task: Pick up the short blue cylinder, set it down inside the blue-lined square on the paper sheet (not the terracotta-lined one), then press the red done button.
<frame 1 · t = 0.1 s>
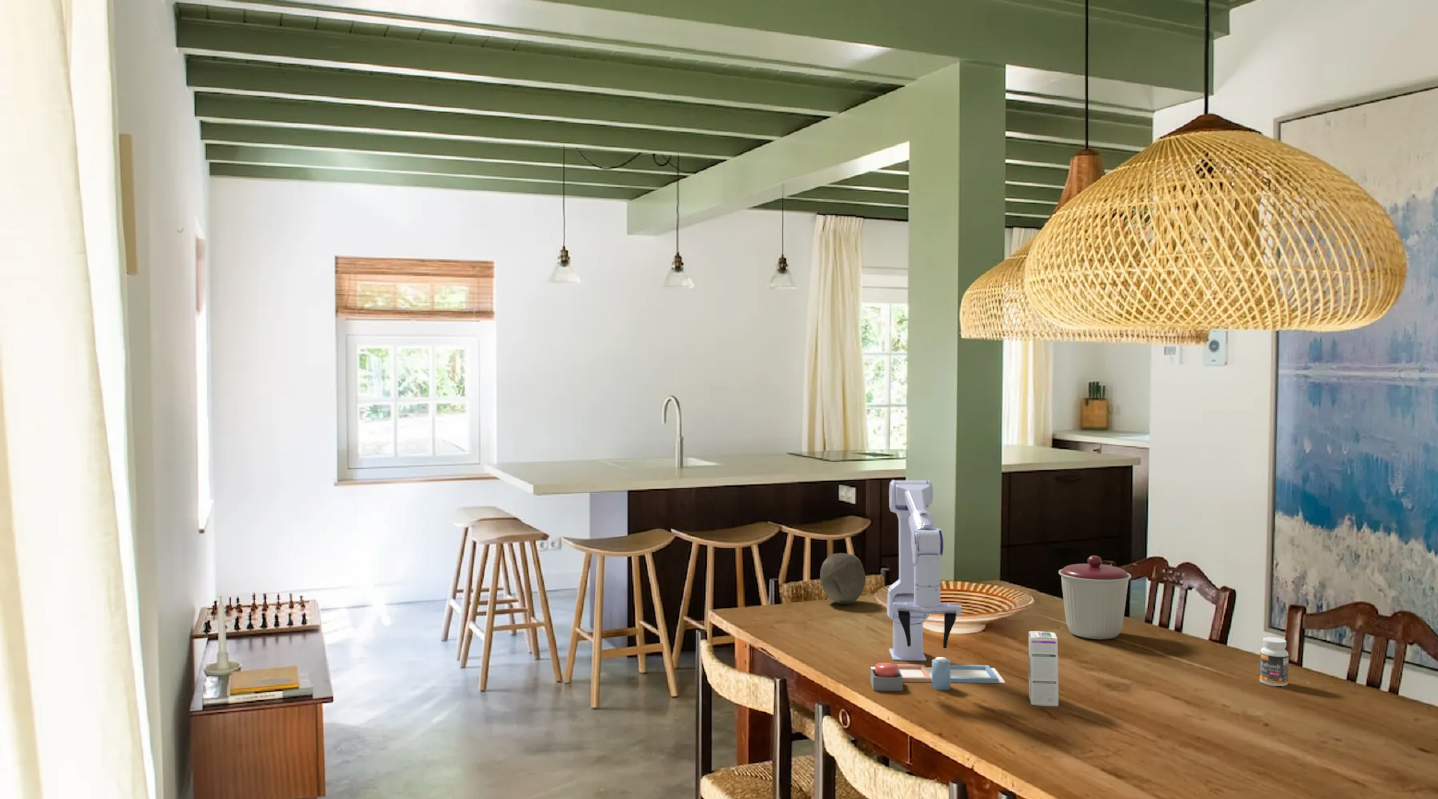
hand: (926, 646, 234), 10 cm above the table, tool pointing down, fingers open, 7 cm apart
button base: (886, 686, 237), on the table
blue cylinder: (941, 688, 236), on the table
syrup box: (1043, 702, 227), on the table
canister: (1093, 635, 282), on the table
sheet: (936, 675, 246), on the table
region blue: (969, 675, 246), resting on sheet
grey boulder: (842, 603, 321), on the table
button: (886, 670, 237), point 4 cm above the table, slide at 0.0 cm
pill bottle: (1273, 684, 239), on the table
region terracotta: (903, 674, 246), resting on sheet
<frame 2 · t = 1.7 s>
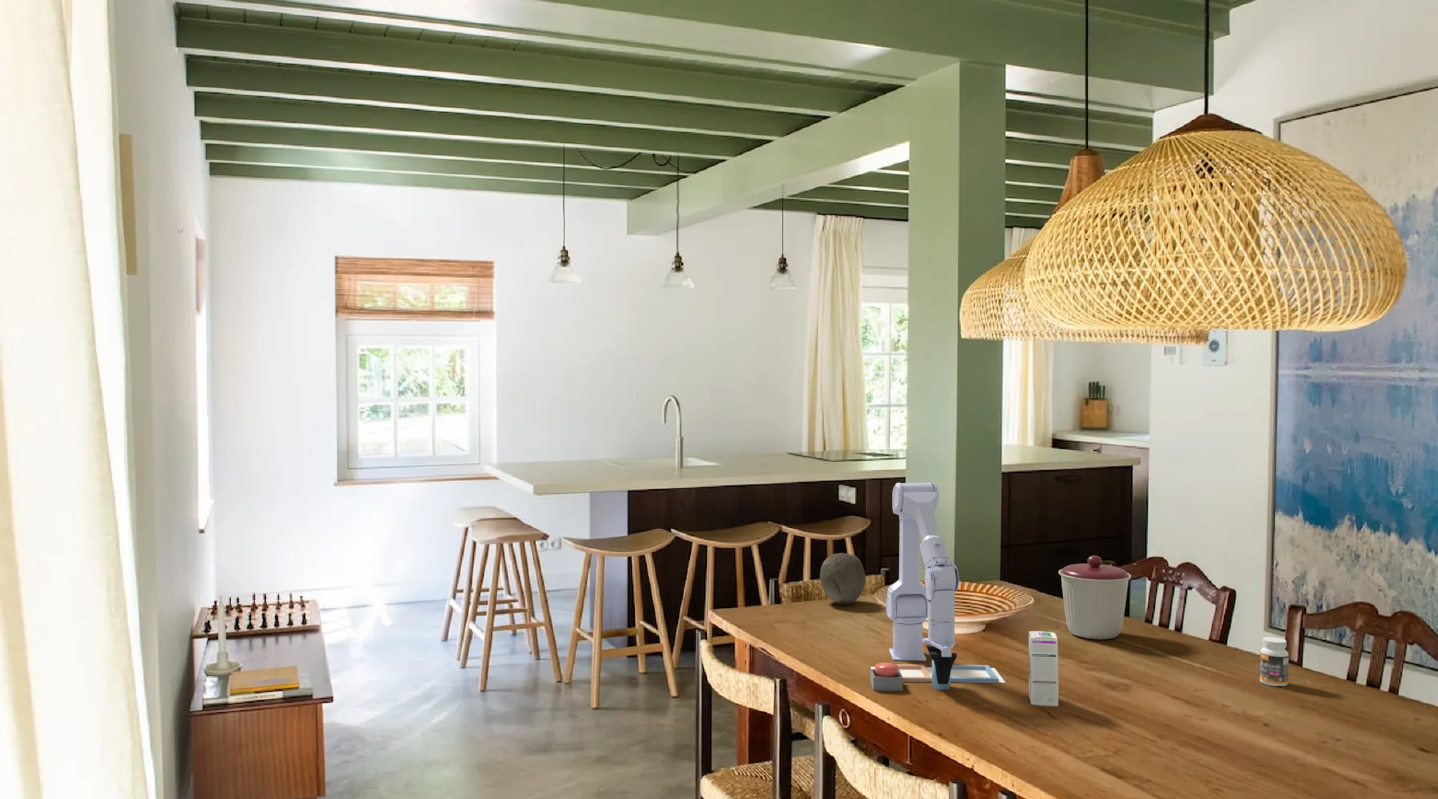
hand: (941, 680, 236), 2 cm above the table, tool pointing down, fingers closed on blue cylinder, 4 cm apart
blue cylinder: (941, 688, 236), on the table, touching gripper
everything else where it was.
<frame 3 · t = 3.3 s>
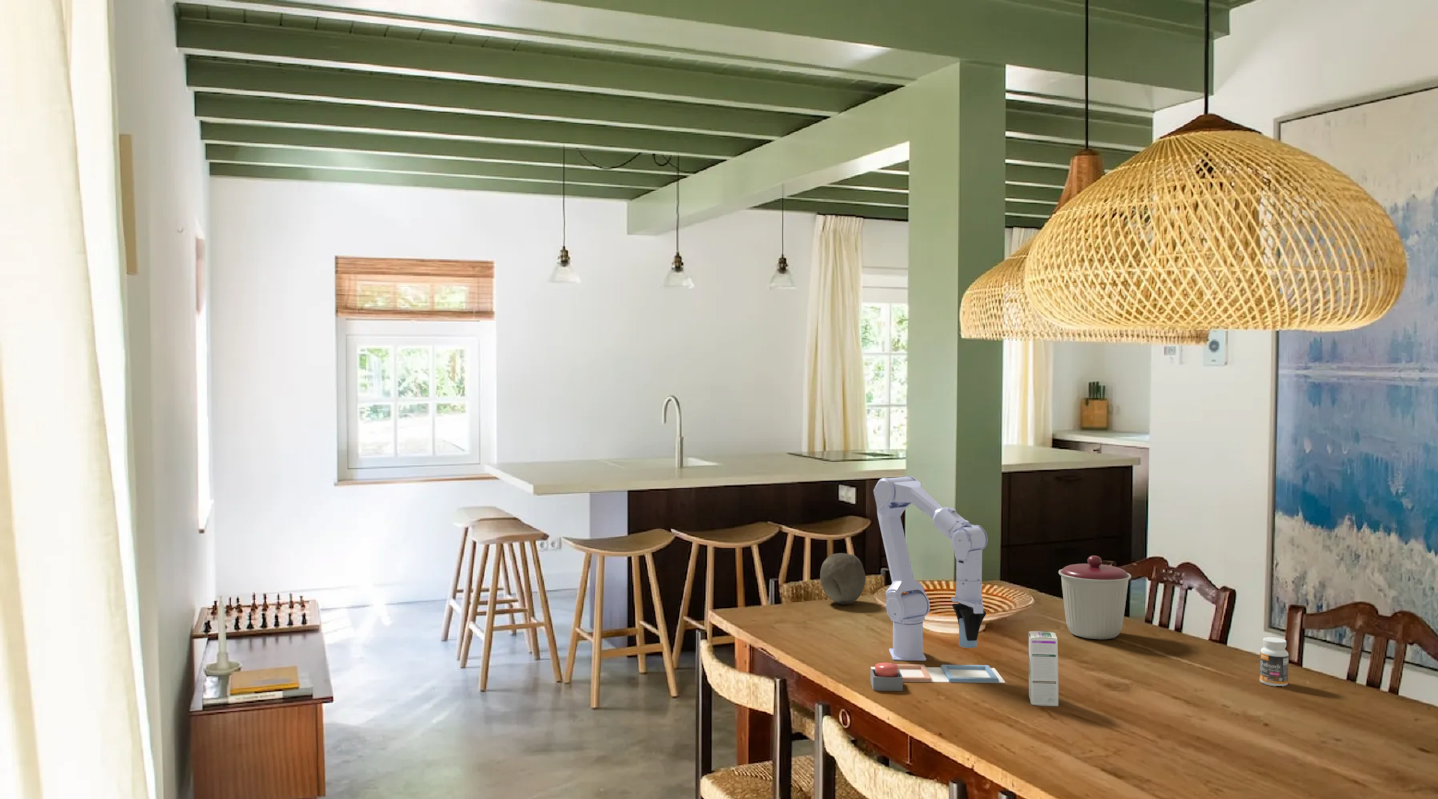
hand: (968, 637, 245), 9 cm above the table, tool pointing down, fingers closed on blue cylinder, 4 cm apart
blue cylinder: (967, 645, 245), point 7 cm above the table, touching gripper
everything else where it was.
when the fingers open (3 cm above the table, at t = 4.9 s): blue cylinder stays where it is, resting on sheet.
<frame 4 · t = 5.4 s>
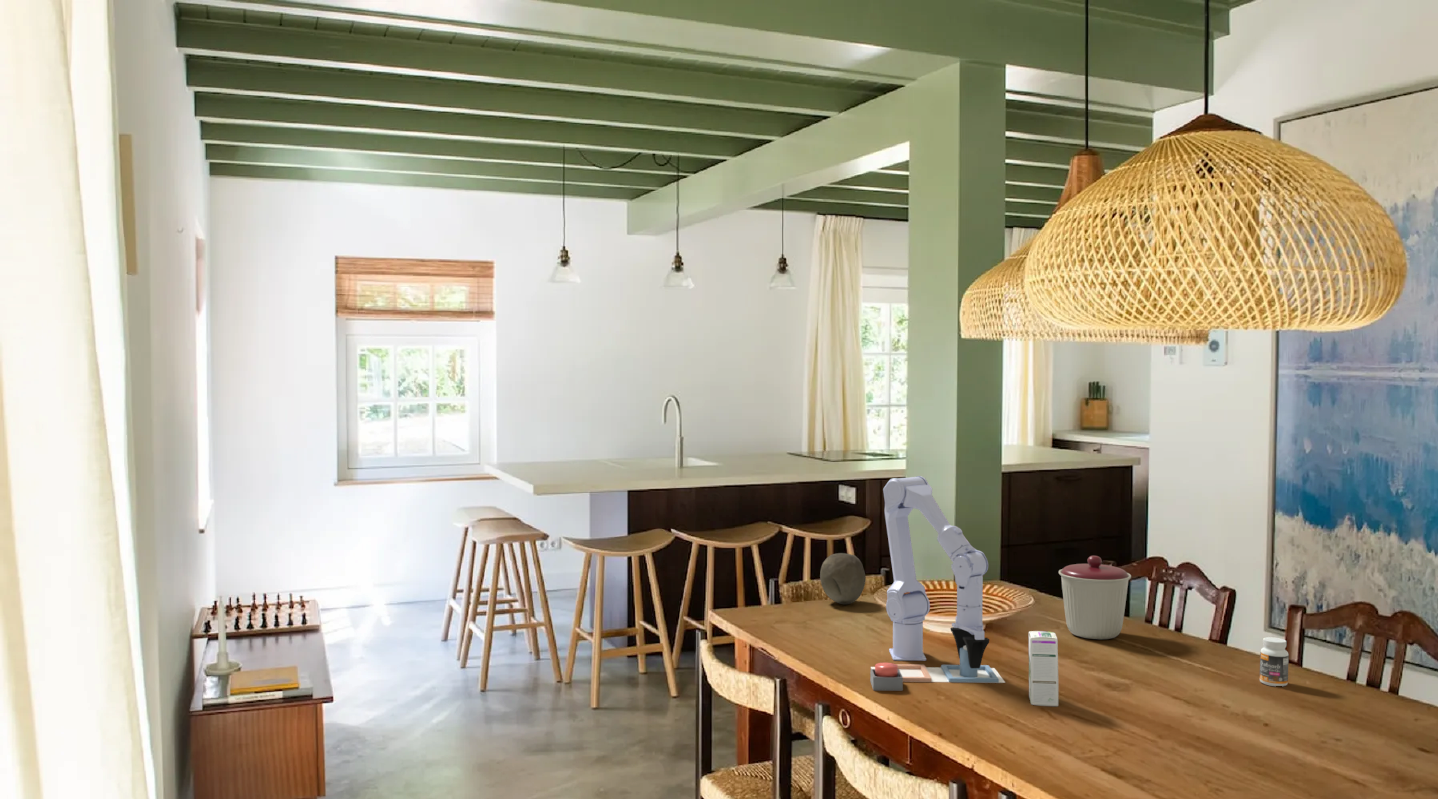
hand: (969, 663, 246), 3 cm above the table, tool pointing down, fingers open, 7 cm apart
blue cylinder: (968, 675, 246), resting on sheet
everything else where it was.
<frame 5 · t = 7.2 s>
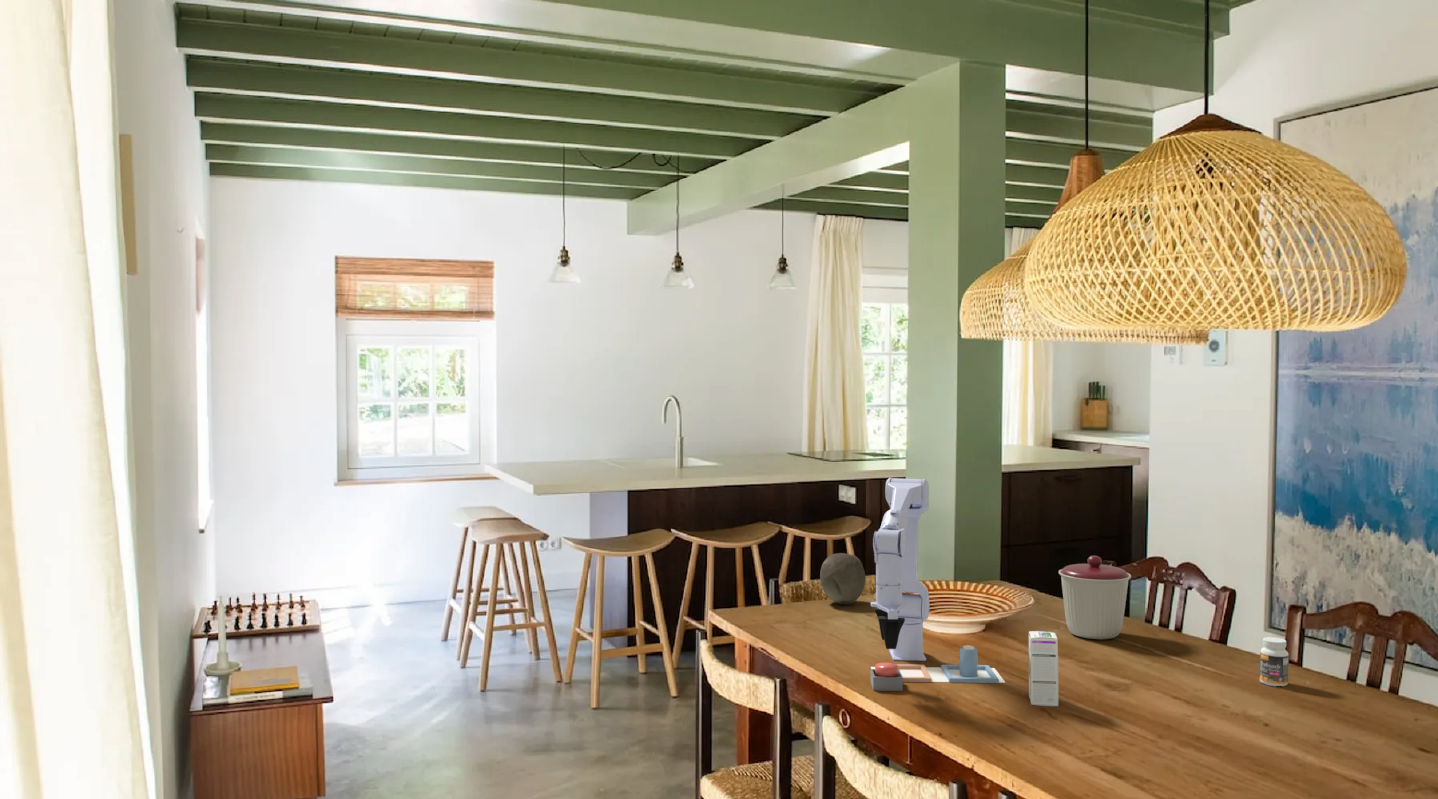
hand: (888, 644, 237), 9 cm above the table, tool pointing down, fingers open, 7 cm apart
nothing on the table moved.
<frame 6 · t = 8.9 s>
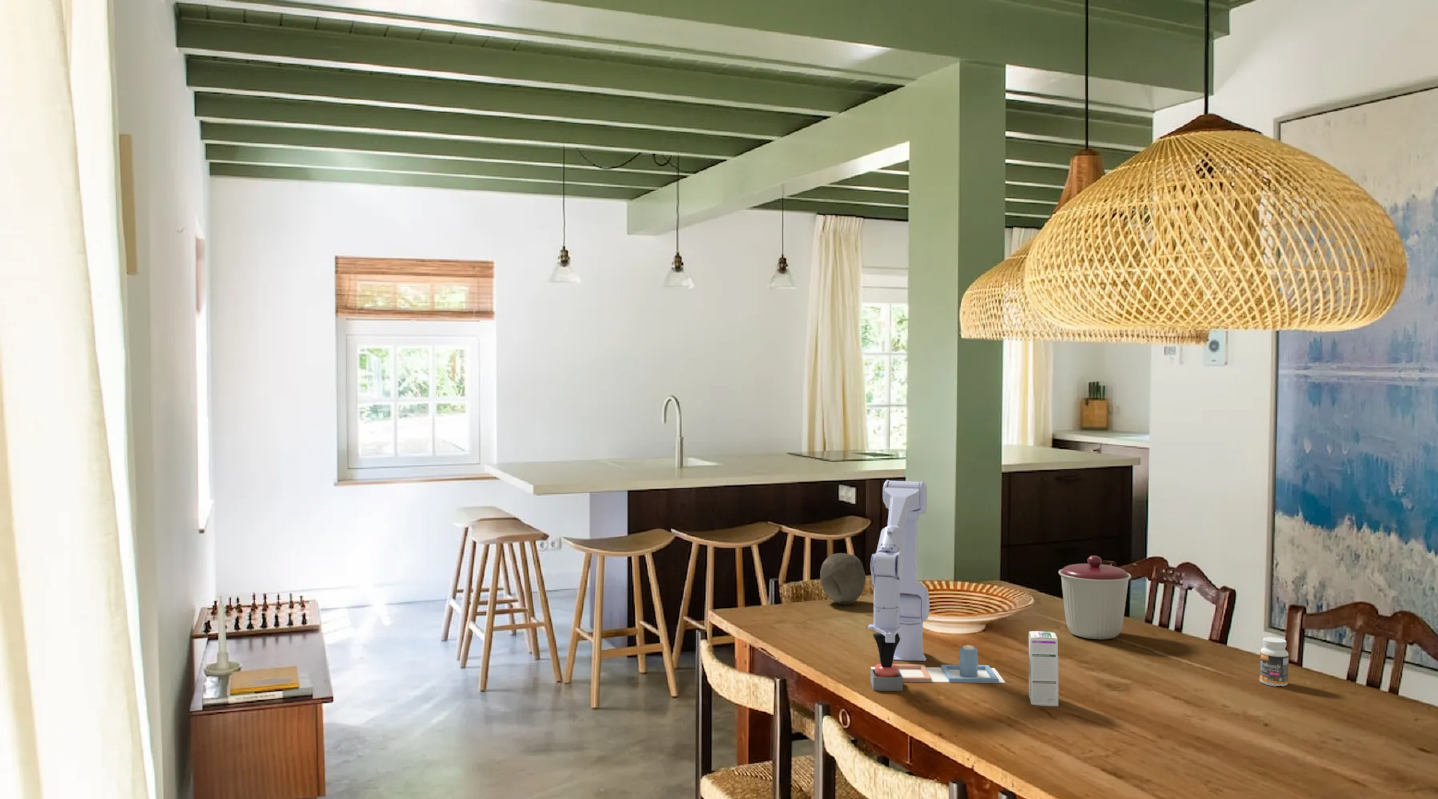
hand: (886, 666, 237), 4 cm above the table, tool pointing down, fingers closed, pressing on button
button: (886, 671, 237), point 4 cm above the table, slide at 0.2 cm, touching gripper
everything else where it was.
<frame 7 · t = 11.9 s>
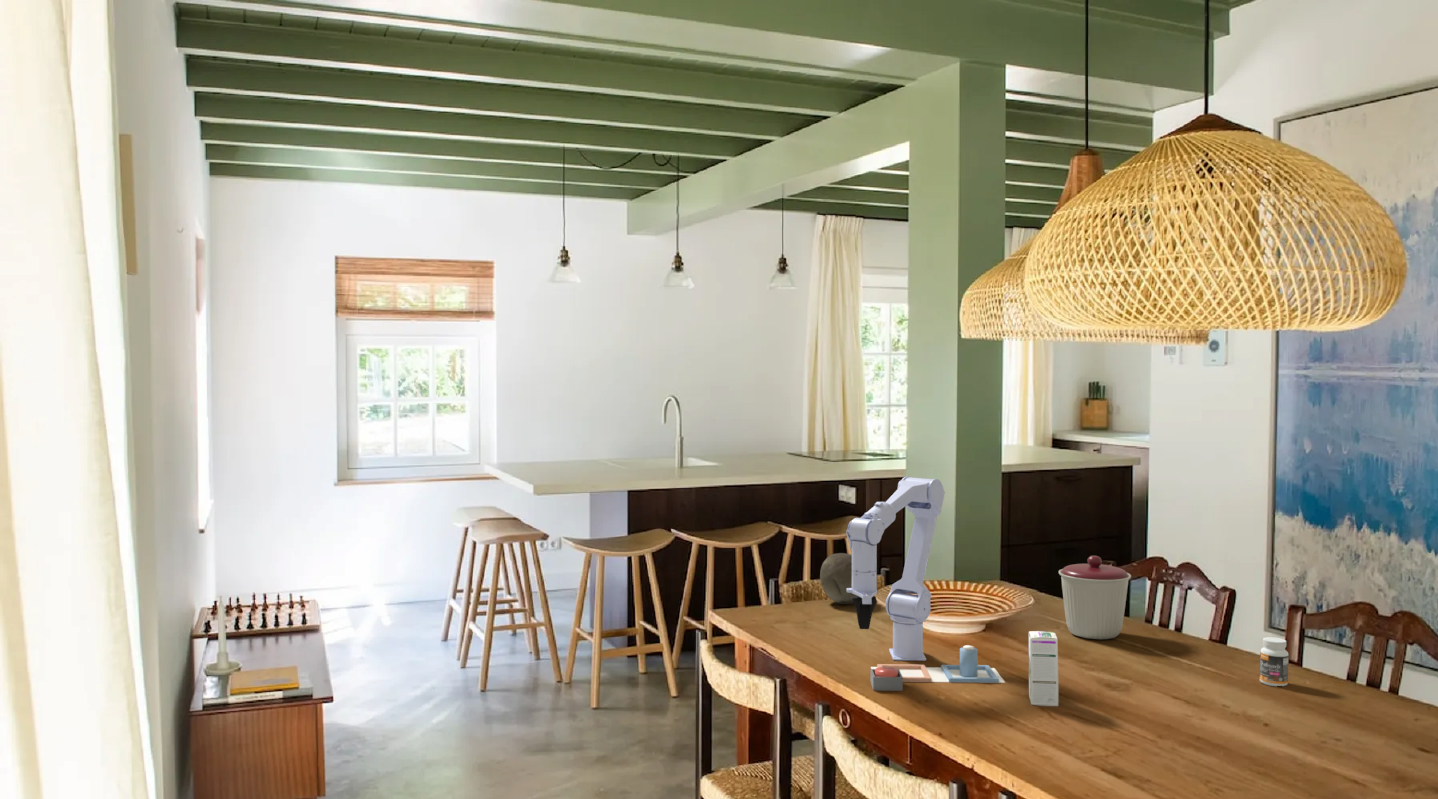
hand: (864, 628, 248), 10 cm above the table, tool pointing down, fingers closed
button: (886, 674, 237), point 3 cm above the table, slide at 1.0 cm
everything else where it was.
at the end: blue cylinder 0.2 cm off-centre on the region blue, point 0.0 cm above the region blue's base; blue cylinder tilted 0°; button slide at 1.0 cm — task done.
